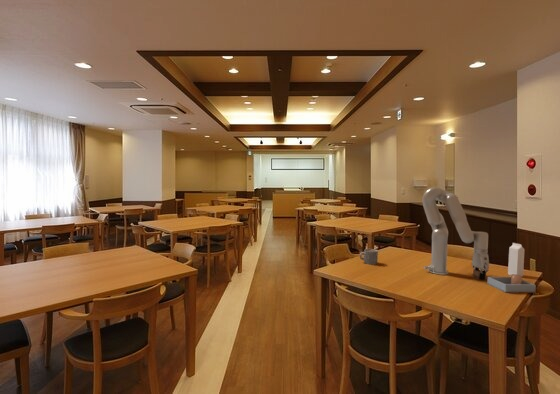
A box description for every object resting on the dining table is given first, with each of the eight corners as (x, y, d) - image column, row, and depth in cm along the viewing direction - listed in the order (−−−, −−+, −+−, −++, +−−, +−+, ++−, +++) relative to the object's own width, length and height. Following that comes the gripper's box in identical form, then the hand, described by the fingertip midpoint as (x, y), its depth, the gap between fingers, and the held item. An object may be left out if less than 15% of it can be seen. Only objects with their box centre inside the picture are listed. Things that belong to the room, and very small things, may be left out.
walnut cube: (478, 279, 195) (478, 272, 195) (473, 277, 200) (473, 269, 200) (485, 279, 195) (486, 272, 195) (480, 277, 200) (480, 269, 200)
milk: (516, 277, 201) (518, 244, 200) (507, 274, 207) (509, 242, 206) (523, 276, 203) (525, 244, 202) (514, 273, 209) (515, 242, 208)
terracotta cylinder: (523, 288, 177) (524, 277, 177) (514, 288, 178) (515, 276, 177) (517, 285, 182) (517, 274, 182) (508, 285, 183) (509, 274, 182)
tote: (505, 292, 172) (505, 284, 172) (487, 283, 187) (487, 276, 187) (535, 292, 173) (535, 285, 172) (515, 284, 187) (515, 277, 187)
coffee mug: (377, 261, 236) (377, 249, 235) (377, 265, 227) (377, 252, 226) (359, 260, 240) (360, 248, 240) (359, 263, 231) (359, 250, 230)
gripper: (495, 253, 188) (494, 282, 189) (477, 247, 205) (476, 274, 206) (484, 253, 188) (482, 282, 189) (466, 247, 205) (465, 274, 206)
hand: (479, 277), depth 198 cm, fingers closed on walnut cube, 5 cm apart
